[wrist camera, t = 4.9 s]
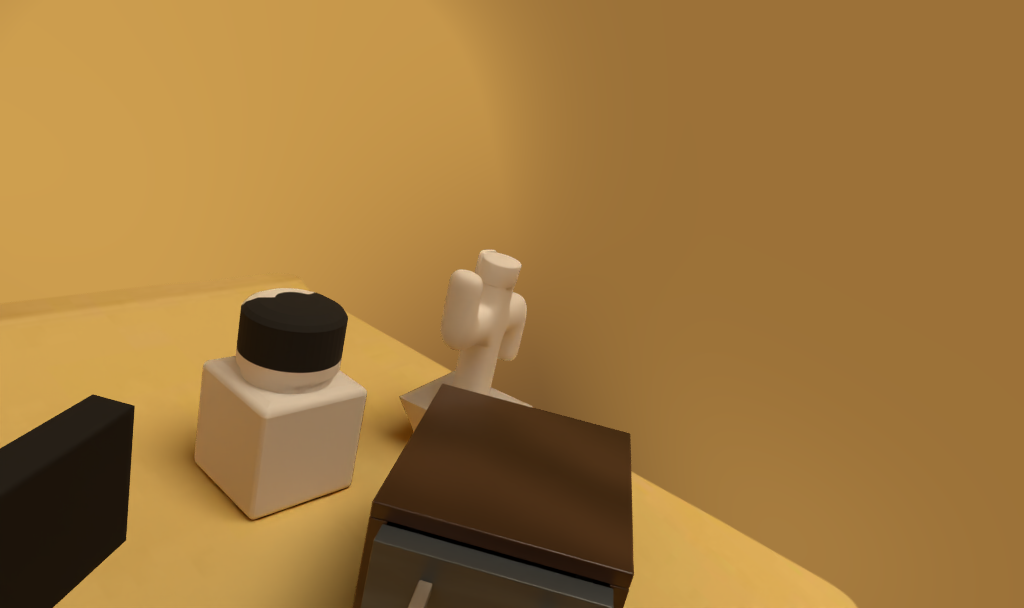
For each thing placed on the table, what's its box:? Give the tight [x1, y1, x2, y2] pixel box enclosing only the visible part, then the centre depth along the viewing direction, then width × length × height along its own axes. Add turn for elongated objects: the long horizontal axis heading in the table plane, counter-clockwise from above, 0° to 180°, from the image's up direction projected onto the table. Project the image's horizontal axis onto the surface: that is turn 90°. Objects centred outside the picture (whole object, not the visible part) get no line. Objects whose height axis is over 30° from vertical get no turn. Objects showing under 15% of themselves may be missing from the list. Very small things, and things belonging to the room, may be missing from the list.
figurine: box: [400, 250, 533, 431], centre depth 53 cm, size 7×9×15 cm
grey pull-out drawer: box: [361, 524, 614, 608], centre depth 34 cm, size 16×10×8 cm, turn 172°
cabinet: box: [352, 384, 634, 608], centre depth 38 cm, size 13×11×10 cm
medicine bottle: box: [194, 288, 367, 520], centre depth 45 cm, size 7×7×12 cm
